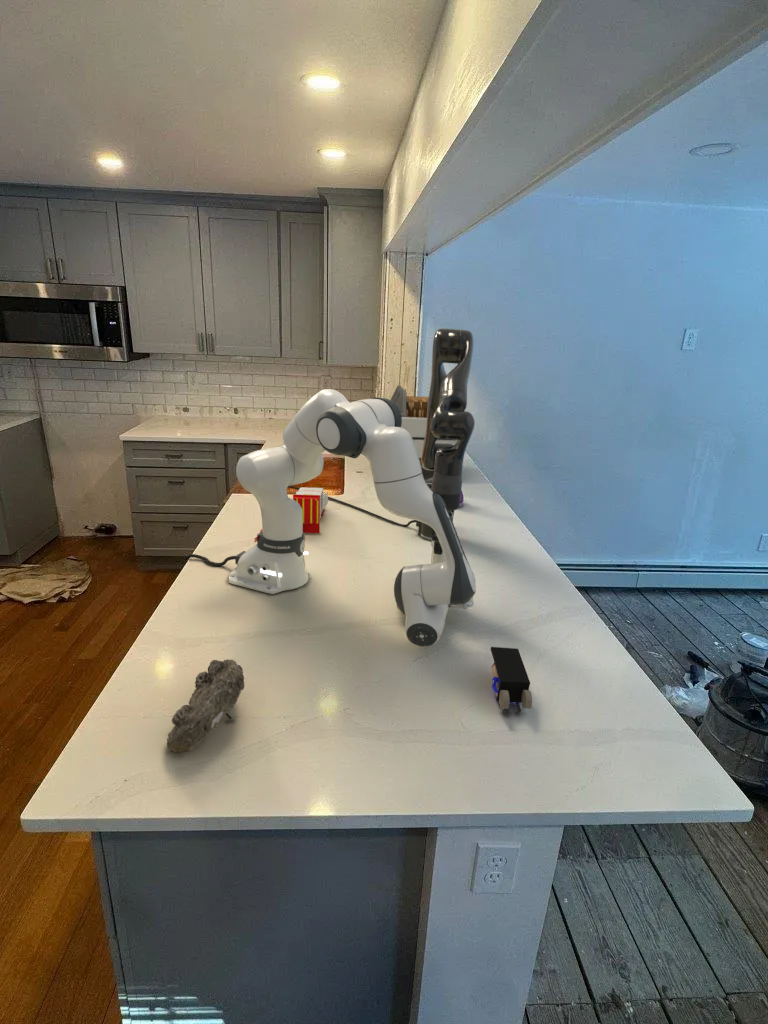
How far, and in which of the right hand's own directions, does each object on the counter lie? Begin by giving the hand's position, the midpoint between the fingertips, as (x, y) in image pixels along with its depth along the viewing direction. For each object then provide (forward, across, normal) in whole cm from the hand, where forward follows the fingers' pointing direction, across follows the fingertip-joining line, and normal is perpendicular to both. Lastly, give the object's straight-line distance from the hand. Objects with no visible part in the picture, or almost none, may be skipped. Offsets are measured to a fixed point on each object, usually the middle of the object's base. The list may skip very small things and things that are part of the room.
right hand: (440, 549), depth 150 cm
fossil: (+16, +63, -27) cm, 70 cm away
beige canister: (+15, 0, 0) cm, 15 cm away
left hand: (+9, -1, 0) cm, 9 cm away
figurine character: (+15, +34, +25) cm, 44 cm away
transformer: (+15, -120, -42) cm, 128 cm away
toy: (+16, -40, -59) cm, 73 cm away
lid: (-3, 0, 0) cm, 3 cm away
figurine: (+15, -80, -15) cm, 83 cm away
